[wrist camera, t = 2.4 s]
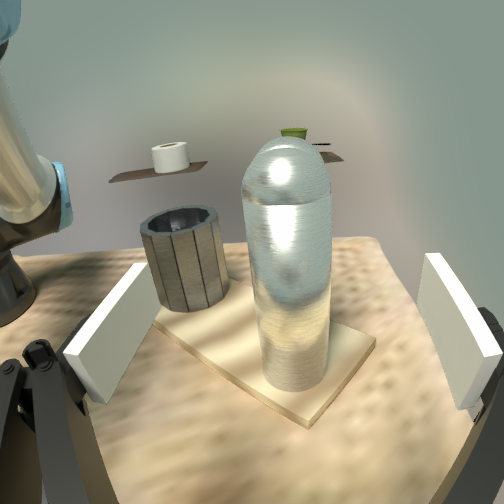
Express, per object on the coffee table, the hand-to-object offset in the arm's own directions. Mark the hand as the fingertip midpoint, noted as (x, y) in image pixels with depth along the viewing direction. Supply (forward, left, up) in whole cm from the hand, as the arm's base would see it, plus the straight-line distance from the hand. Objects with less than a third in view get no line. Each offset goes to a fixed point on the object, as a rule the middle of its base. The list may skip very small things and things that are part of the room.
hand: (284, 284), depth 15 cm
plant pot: (-74, +102, -18) cm, 127 cm away
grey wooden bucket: (-26, +11, -17) cm, 33 cm away
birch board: (-16, +10, -18) cm, 26 cm away
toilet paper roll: (-113, +66, -19) cm, 132 cm away
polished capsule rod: (-7, +9, -17) cm, 20 cm away
